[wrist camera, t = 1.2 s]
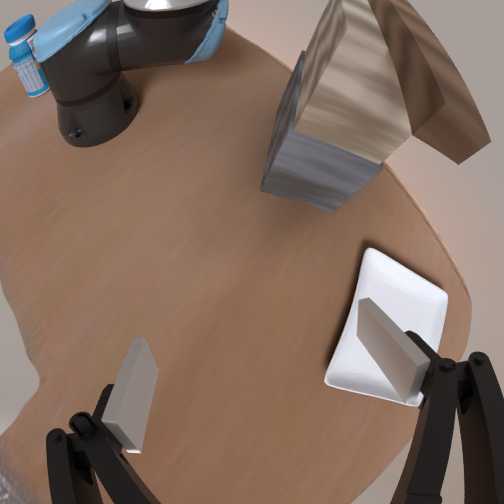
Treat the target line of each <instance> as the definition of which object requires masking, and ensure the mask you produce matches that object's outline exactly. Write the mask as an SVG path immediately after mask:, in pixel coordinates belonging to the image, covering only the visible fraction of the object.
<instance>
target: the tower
mask: <svg viewBox="0 0 504 504" xmlns="http://www.w3.org/2000/svg"><path fill="white" fill-rule="evenodd" d="M411 135H412V132H411V127H410V123H409V118H408V114H407V110H406V106H405V102H404V98H403V94H402V90H401V87H400V83H399V80H398V77H397V74H396V70H395V67H394V64H393V61H392V59H391V56H390V53H389V50H388V47H387V45H386V42H385V40H384V37H383V35H382V32H381V30H380V27H379V25H378V23H377V20H376V18H375V16H374V14H373V12H372V9H371V7H370V5H369V3H368V1H367V0H329V2H328V4H327V6H326V8H325V10H324V12H323V14H322V17H321V19H320V21H319V23H318V25H317V28H316V30H315V32H314V34H313V36H312V39H311V41H310V43H309V45H308V48H307V50H306V51H302V52H301V54H300V57H299V59H298V61H297V64H296V66H295V68H294V71H293V73H292V76H291V78H290V80H289V83H288V85H287V88H286V90H285V92H284V95H283V97H282V100H281V102H280V105H279V108H278V112H277V116H276V121H275V125H274V130H273V134H272V139H271V143H270V148H269V152H268V157H267V161H266V166H265V170H264V175H263V179H262V184H261V188H260V191H263V192H267V193H271V194H274V195H278V196H281V197H285V198H288V199H291V200H295V201H298V202H301V203H305V204H308V205H311V206H314V207H317V208H321V209H324V210H327V211H330V212H334V211H335V210H336V209H337V208H339V207H340V206H341V205H342V204H343V203H345V202H346V201H347V200H348V199H349V198H350V197H352V196H353V195H354V194H355V193H356V192H357V191H359V190H360V189H361V188H362V187H363V186H364V185H366V184H367V183H368V182H369V181H370V180H371V179H373V178H374V177H375V176H376V175H377V174H378V173H379V172H381V171H382V170H383V164H382V162H383V161H384V160H385V159H386V158H387V157H388V156H389V155H391V154H392V153H393V152H394V151H395V150H396V149H397V148H398V147H399V146H400V145H401V144H402V143H403V142H405V141H406V140H407V139H408V138H409V137H410V136H411Z"/></svg>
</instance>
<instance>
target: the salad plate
mask: <svg viewBox="0 0 504 504" xmlns="http://www.w3.org/2000/svg"><path fill="white" fill-rule="evenodd" d="M368 297H369V298H370V299H371V300H372V301H373V302H374V303H376V304H377V305H378V306H379V307H380V308H381V309H382V310H383V311H384V312H385V313H386V314H387V315H388V316H389V317H390V318H391V319H392V321H393V322H394V323H395V324H396V325H397V326H398V327H399V328H400V329H401V330H402V331H403V332H406V331H409V330H411V331H413V332H415V333H417V334H418V335H419V336H420V337H421V338H422V339H423V340H424V341H425V342H426V343H427V344H428V345H429V346H430V347H431V348H432V349H433V350H434V351H435V352H436V353H437V351H438V347H439V343H440V338H441V334H442V329H443V325H444V320H445V315H446V309H447V303H448V295H447V293H446V292H445V291H443V290H442V289H440V288H439V287H437V286H436V285H434V284H432V283H431V282H429V281H427V280H426V279H424V278H422V277H421V276H419V275H417V274H416V273H414V272H412V271H411V270H409V269H407V268H406V267H404V266H403V265H401V264H399V263H398V262H396V261H395V260H393V259H391V258H390V257H388V256H387V255H385V254H383V253H382V252H380V251H378V250H376V249H373V248H367V249H366V250H365V252H364V255H363V259H362V264H361V269H360V273H359V278H358V283H357V287H356V291H355V295H354V299H353V303H352V306H351V309H350V313H349V316H348V318H347V321H346V324H345V327H344V330H343V332H342V335H341V338H340V340H339V342H338V345H337V347H336V350H335V352H334V355H333V357H332V359H331V362H330V364H329V366H328V369H327V371H326V374H325V377H324V382H325V383H326V384H327V385H329V386H331V387H335V388H338V389H342V390H347V391H351V392H356V393H360V394H365V395H369V396H374V397H378V398H383V399H387V400H391V401H394V402H398V403H401V404H404V405H409V406H418V405H419V404H420V403H421V401H422V398H423V394H422V393H421V392H420V393H419V395H418V398H417V399H416V400H413V401H411V402H409V403H407V404H405V403H404V402H403V400H402V399H401V397H400V396H399V395H398V393H397V392H396V390H395V389H394V387H393V386H392V385H391V383H390V382H389V380H388V379H387V377H386V376H385V375H384V373H383V372H382V370H381V369H380V368H379V366H378V365H377V363H376V362H375V361H374V359H373V358H372V356H371V355H370V354H369V352H368V351H367V349H366V348H365V347H364V345H363V344H362V343H361V341H360V340H359V338H358V337H357V336H356V334H357V319H358V300H360V299H364V298H368Z"/></svg>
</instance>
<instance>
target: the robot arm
mask: <svg viewBox="0 0 504 504" xmlns="http://www.w3.org/2000/svg"><path fill="white" fill-rule="evenodd" d="M111 1H112V0H78V1H76V2H74V3H72V4H70V5H68V6H67V7H65V8H63V9H62V10H60V11H59V12H57V13H56V14H54V15H53V16H52V17H50V18H49V19H48V20H47V21H46V22H45V23H44V24H43V25H42V26H41V27H40V28H39V29H38V31H37V32H36V34H35V36H34V39H33V46H34V50H35V54H36V57H37V59H36V60H37V62H38V63H39V65H40V67H41V69H42V72H43V74H44V76H45V78H46V81H47V83H48V85H49V87H50V89H51V91H52V93H53V95H54V98H55V100H56V102H57V112H58V125H59V129H60V132H61V134H62V135H63V137H64V139H65V140H66V141H67V142H68V143H69V144H71V145H73V146H76V147H91V146H96V145H99V144H102V143H104V142H106V141H108V140H110V139H112V138H114V137H115V136H117V135H118V134H119V133H121V132H122V131H123V130H124V129H125V128H126V127H127V126H128V125H129V124H130V123H131V121H132V120H133V118H134V116H135V114H136V111H137V106H138V103H137V97H136V93H135V90H134V88H133V87H132V86H131V84H130V83H129V82H128V80H127V79H126V78H125V76H124V75H123V73H122V72H121V71H126V70H132V69H139V68H146V67H154V66H164V65H176V64H181V65H183V64H187V63H192V62H201V61H206V60H208V59H210V58H211V57H212V56H213V55H214V54H215V53H216V51H217V49H218V48H219V45H220V43H221V40H222V37H223V34H224V31H225V26H226V24H225V21H226V19H227V15H228V4H229V3H228V0H120V1H115V2H111ZM356 336H357V337H358V338H359V340H360V341H361V343H362V344H363V345H364V347H365V348H366V349H367V351H368V352H369V354H370V355H371V356H372V358H373V359H374V361H375V362H376V363H377V365H378V366H379V368H380V369H381V370H382V372H383V373H384V375H385V376H386V377H387V379H388V380H389V382H390V383H391V385H392V386H393V387H394V389H395V390H396V392H397V393H398V395H399V396H400V397H401V399H402V400H403V402H404V403H405V404H407V403H409V402H411V401H413V400H416V399H417V398H418V395H419V393H420V392H421V393H422V394H423V399H422V401H421V403H420V406H419V408H418V409H420V412H419V416H418V421H417V425H416V429H415V433H414V437H413V441H412V444H411V448H410V451H409V454H408V457H407V460H406V463H405V466H404V469H403V472H402V475H401V478H400V480H399V483H398V485H397V488H396V491H395V493H394V495H393V498H392V500H391V502H390V504H441V503H442V497H441V496H440V492H441V488H442V484H443V480H444V476H445V472H446V468H447V464H448V459H449V454H450V448H451V443H452V437H453V436H452V435H453V430H454V422H455V412H456V408H457V414H458V420H459V426H460V433H461V441H462V451H463V463H464V484H465V485H464V486H465V498H464V499H465V500H464V501H465V502H464V504H504V398H503V395H502V392H501V389H500V386H499V383H498V380H497V377H496V375H495V372H494V370H493V367H492V365H491V362H490V360H489V358H488V356H487V355H486V354H484V353H482V352H473V353H472V354H470V356H469V359H468V361H463V362H458V363H456V362H455V361H453V360H452V359H449V358H441V357H440V356H439V355H438V354H437V353H436V352H435V351H434V350H433V349H432V348H431V347H430V346H429V345H428V344H427V343H426V342H425V341H424V340H423V339H422V338H421V337H420V336H419V335H418V334H417V333H415V332H413V331H411V330H409V331H406V332H403V331H402V330H401V329H400V328H399V327H398V326H397V325H396V324H395V323H394V322H393V321H392V319H391V318H390V317H389V316H388V315H387V314H386V313H385V312H384V311H383V310H382V309H381V308H380V307H379V306H378V305H377V304H376V303H374V302H373V301H372V300H371V299H370V298H369V297H368V298H364V299H360V300H358V319H357V334H356ZM158 372H159V369H158V367H157V365H156V363H155V360H154V358H153V356H152V353H151V351H150V348H149V346H148V344H147V341H146V339H145V337H140V338H134V339H133V341H132V343H131V346H130V348H129V350H128V353H127V355H126V357H125V360H124V362H123V365H122V367H121V369H120V372H119V374H118V377H117V379H116V382H115V384H108V385H107V386H106V387H105V388H104V390H103V391H102V393H101V396H100V399H99V401H98V404H97V406H96V408H95V411H94V413H93V416H92V417H91V415H90V414H89V413H87V412H79V413H76V414H75V415H73V416H72V417H71V419H70V421H69V427H70V428H71V429H72V431H73V432H74V433H71V434H66V433H65V432H64V431H63V430H62V429H60V428H55V429H53V430H51V431H50V432H49V433H48V435H47V437H46V452H47V467H48V477H49V486H50V493H51V499H52V504H103V501H102V498H101V495H100V491H99V488H98V484H97V480H96V476H95V472H96V474H97V476H98V478H99V479H100V481H101V483H102V485H103V486H104V488H105V490H106V491H107V493H108V494H109V496H110V498H111V499H112V501H113V502H114V504H161V503H160V502H159V501H158V500H157V498H156V497H155V496H154V495H153V494H152V492H151V491H150V490H149V489H148V487H147V486H146V485H145V484H144V482H143V481H142V480H141V478H140V477H139V476H138V475H137V473H136V472H135V470H134V469H133V468H132V466H131V465H130V463H129V462H128V461H127V459H126V458H125V456H124V455H123V454H122V453H121V451H122V446H123V447H124V449H125V450H126V451H127V452H132V453H141V451H142V445H143V440H144V435H145V430H146V425H147V420H148V416H149V411H150V407H151V402H152V398H153V393H154V389H155V385H156V381H157V376H158ZM94 470H95V472H94Z"/></svg>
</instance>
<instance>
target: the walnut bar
mask: <svg viewBox="0 0 504 504" xmlns="http://www.w3.org/2000/svg"><path fill="white" fill-rule="evenodd" d="M367 1H368V3H369V5H370V7H371V9H372V12H373V14H374V16H375V18H376V20H377V23H378V25H379V27H380V30H381V32H382V35H383V37H384V40H385V42H386V45H387V47H388V50H389V53H390V56H391V59H392V61H393V64H394V67H395V70H396V74H397V77H398V80H399V83H400V87H401V90H402V94H403V98H404V102H405V106H406V110H407V114H408V118H409V123H410V127H411V132H412V135H413V136H415V137H416V138H418V139H420V140H421V141H423V142H425V143H426V144H428V145H430V146H431V147H433V148H434V149H436V150H437V151H439V152H441V153H442V154H444V155H445V156H447V157H448V158H450V159H451V160H453V161H454V162H456V163H457V164H458V165H459V164H460V163H462V162H463V161H465V160H466V159H468V158H469V157H470V156H472V155H473V154H475V153H476V152H477V151H479V150H480V149H481V148H483V147H484V146H486V145H487V144H489V143H490V142H491V140H490V137H489V134H488V132H487V129H486V127H485V124H484V122H483V120H482V118H481V115H480V113H479V111H478V109H477V106H476V104H475V102H474V100H473V98H472V96H471V94H470V92H469V90H468V88H467V86H466V84H465V82H464V81H463V79H462V77H461V75H460V73H459V72H458V70H457V68H456V67H455V65H454V63H453V62H452V60H451V59H450V57H449V55H448V54H447V52H446V51H445V49H444V48H443V46H442V45H441V43H440V42H439V40H438V39H437V37H436V36H435V35H434V33H433V32H432V30H431V29H430V28H429V26H428V25H427V24H426V23H425V21H424V20H423V19H422V17H421V16H420V15H419V14H418V13H417V11H416V10H415V9H414V8H413V7H412V6H411V4H410V3H409V2H408V1H407V0H367Z"/></svg>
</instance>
